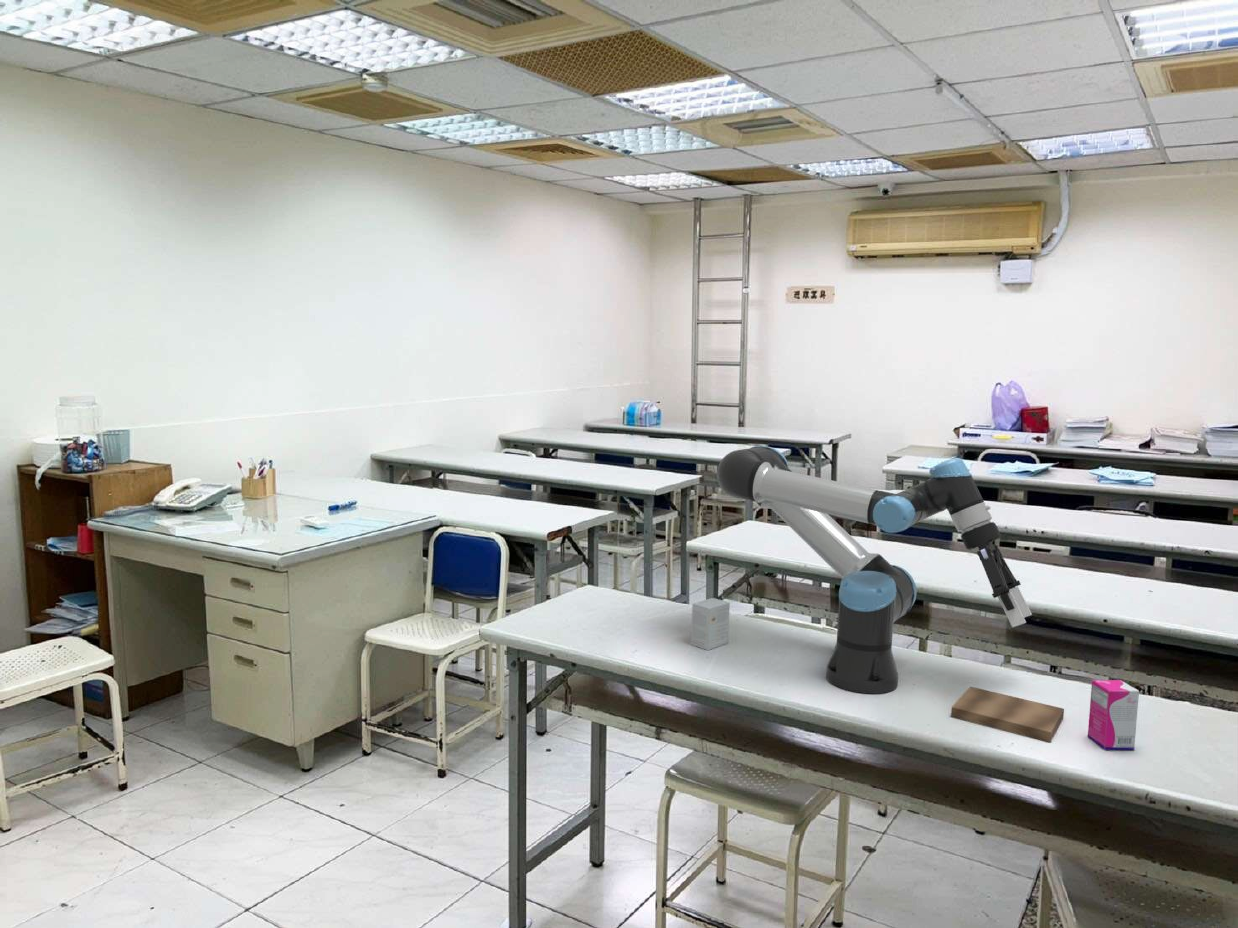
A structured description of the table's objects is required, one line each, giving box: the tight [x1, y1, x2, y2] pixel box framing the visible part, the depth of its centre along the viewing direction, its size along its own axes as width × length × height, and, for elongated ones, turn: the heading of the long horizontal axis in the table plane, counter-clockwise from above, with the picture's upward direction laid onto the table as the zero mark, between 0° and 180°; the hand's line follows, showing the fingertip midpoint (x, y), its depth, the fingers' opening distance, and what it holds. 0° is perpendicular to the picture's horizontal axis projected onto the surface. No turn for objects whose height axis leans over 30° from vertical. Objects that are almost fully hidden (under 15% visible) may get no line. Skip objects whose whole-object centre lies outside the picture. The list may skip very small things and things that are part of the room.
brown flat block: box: [950, 686, 1065, 743], centre depth 171 cm, size 18×14×2 cm
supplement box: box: [1087, 679, 1140, 751], centre depth 160 cm, size 6×6×12 cm
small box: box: [690, 597, 731, 651], centre depth 210 cm, size 8×6×10 cm
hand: (1022, 621), depth 179 cm, fingers open, 13 cm apart
